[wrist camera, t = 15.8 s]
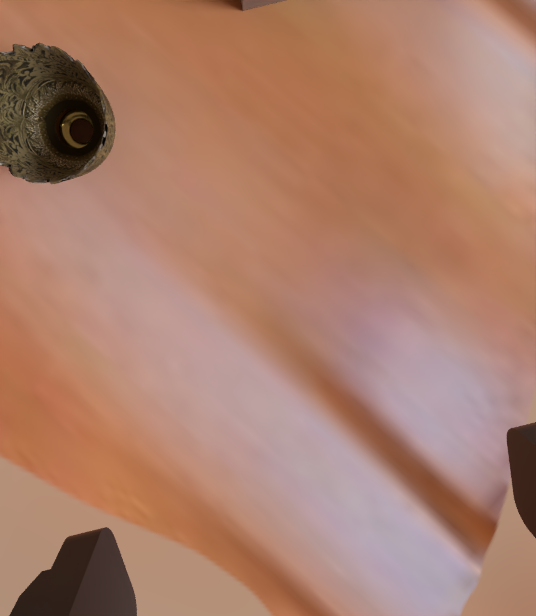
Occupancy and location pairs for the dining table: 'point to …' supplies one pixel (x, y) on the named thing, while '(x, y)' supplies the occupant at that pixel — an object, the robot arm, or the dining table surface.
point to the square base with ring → (256, 3)
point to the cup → (50, 115)
